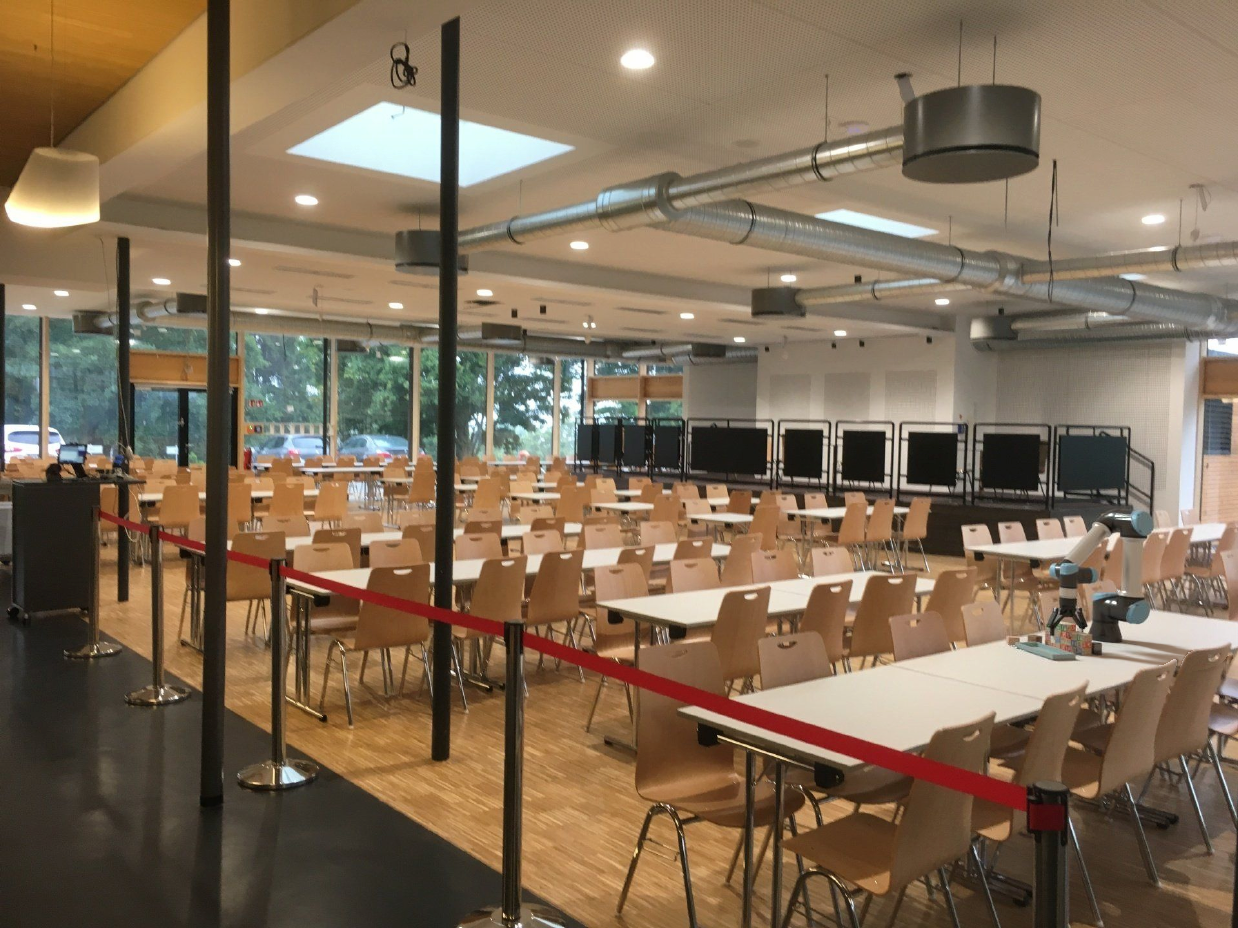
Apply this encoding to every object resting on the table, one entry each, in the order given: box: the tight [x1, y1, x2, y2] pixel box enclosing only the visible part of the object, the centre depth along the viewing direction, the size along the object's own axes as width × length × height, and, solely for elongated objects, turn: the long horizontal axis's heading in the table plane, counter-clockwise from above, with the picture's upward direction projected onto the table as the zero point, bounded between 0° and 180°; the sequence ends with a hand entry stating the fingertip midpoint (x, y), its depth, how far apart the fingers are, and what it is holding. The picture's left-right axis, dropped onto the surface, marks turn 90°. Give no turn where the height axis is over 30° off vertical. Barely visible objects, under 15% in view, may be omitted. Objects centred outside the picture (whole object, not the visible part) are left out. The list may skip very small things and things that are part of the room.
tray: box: [1014, 641, 1077, 661], centre depth 444 cm, size 12×27×2 cm, turn 13°
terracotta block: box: [1005, 635, 1021, 646], centre depth 462 cm, size 5×4×4 cm
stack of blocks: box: [1044, 620, 1093, 656], centre depth 453 cm, size 21×6×12 cm, turn 23°
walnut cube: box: [1026, 634, 1043, 644], centre depth 463 cm, size 4×4×4 cm
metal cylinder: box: [1090, 641, 1103, 656], centre depth 445 cm, size 4×4×5 cm
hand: (1066, 642), depth 453 cm, fingers open, 13 cm apart
